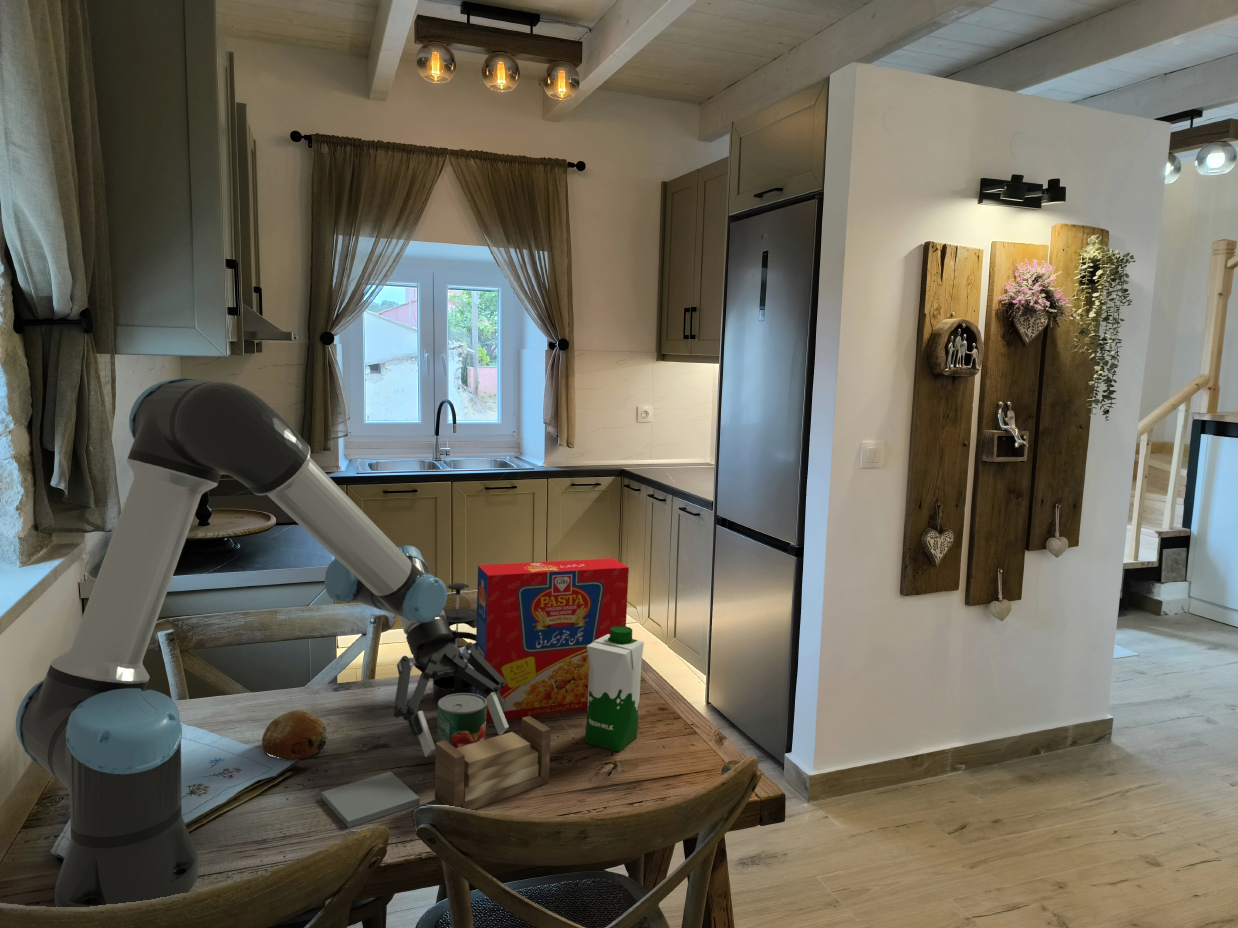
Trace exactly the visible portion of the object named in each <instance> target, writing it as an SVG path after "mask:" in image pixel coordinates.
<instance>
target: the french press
mask: <svg viewBox="0 0 1238 928" xmlns="http://www.w3.org/2000/svg"><path fill="white" fill-rule="evenodd" d="M469 587H470V586H469V585H468V584H467V583H461V582H454V583H449V584H448V585H447V586H446V588H448V589H449V590H454V591H455V595H456V608H447V609H443V610H444V613H445V615H446V619H445V620H446V621H447V622H448V624H449V626H450V627H451V626H453V625H455V630H454V629H453V630H452V629H451V632H452V634H453V637H454V642H455V645H456V646H457V647H458V648H461V647H464V646H466V645H467V644H466V645H459V644H460V643H459V641H460V639H464V640H465V639H466V640H471V641H474V642H472V643H473V644H474V646H475V648H476V633H473V632H469V631H468V632H467V631H459V624H465V625H468V626H469V627H470V628H473V629H476V624H477V610H473V609H469V608H459V603H460V601H459V598H460V596H459V595H461V590H465V589H468V588H469ZM460 659H462V660H463V661H465V662H466V663H467V664H468V666H469V667H471V668H472V669H474V668H473V667H472V666H471V665H470V664H469V663H468V661H467V660H466V659H463V657H462V656H460ZM459 668H460V667H458V666H457V669H459ZM474 670H475V669H474ZM456 693H471V694H475V687H473V686H472V685H470V684H469V683H467V682H466V681H464V680H463V679H461V678H460V677H455V676H454V675H451V676H449V677H441V678H439V679H436V680H433V679H432V692H431V700H432V702H433V703H435V704H437V705H438V701H439V700H440V699H441V698H443V697H445V696H447V695H451V694H456Z"/></svg>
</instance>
